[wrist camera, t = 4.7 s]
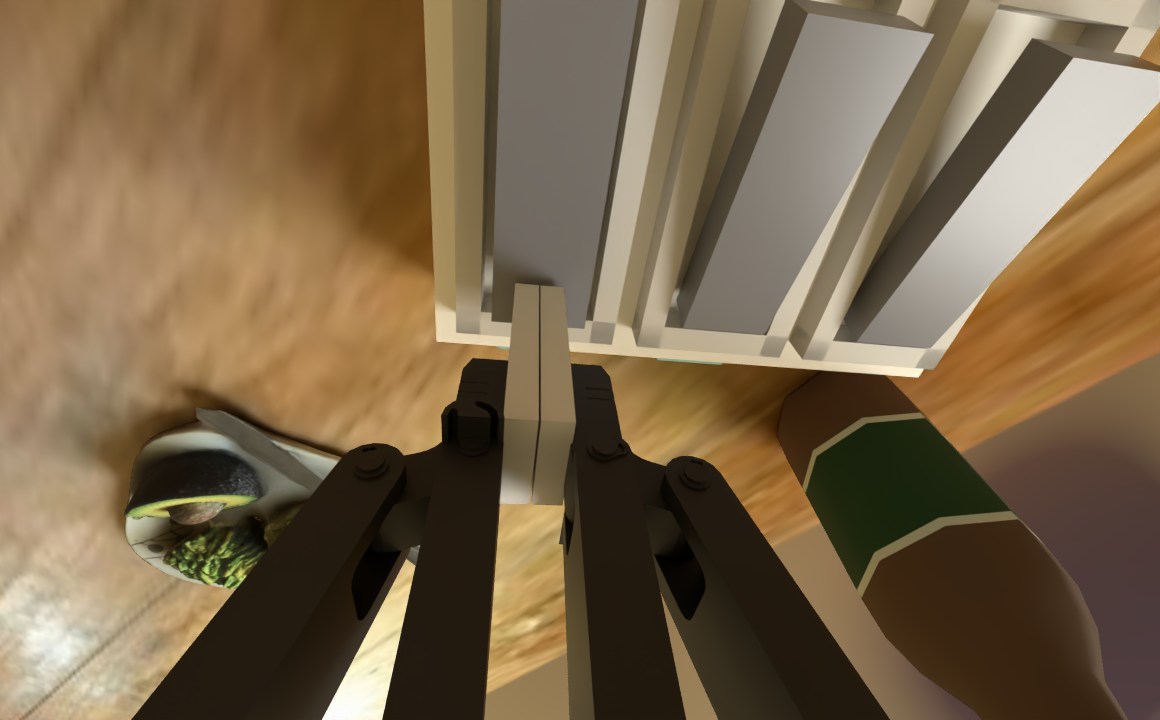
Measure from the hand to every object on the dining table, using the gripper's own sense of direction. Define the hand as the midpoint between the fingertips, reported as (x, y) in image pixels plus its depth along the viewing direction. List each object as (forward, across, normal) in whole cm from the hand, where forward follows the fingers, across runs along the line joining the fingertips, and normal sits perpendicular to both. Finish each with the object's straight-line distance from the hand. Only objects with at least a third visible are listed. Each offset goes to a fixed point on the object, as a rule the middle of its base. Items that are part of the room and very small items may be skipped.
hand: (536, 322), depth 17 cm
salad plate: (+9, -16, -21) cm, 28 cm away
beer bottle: (+9, +19, -10) cm, 23 cm away
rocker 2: (+2, +7, +5) cm, 9 cm away
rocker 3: (+2, +14, +5) cm, 15 cm away
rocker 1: (+2, 0, +5) cm, 5 cm away
